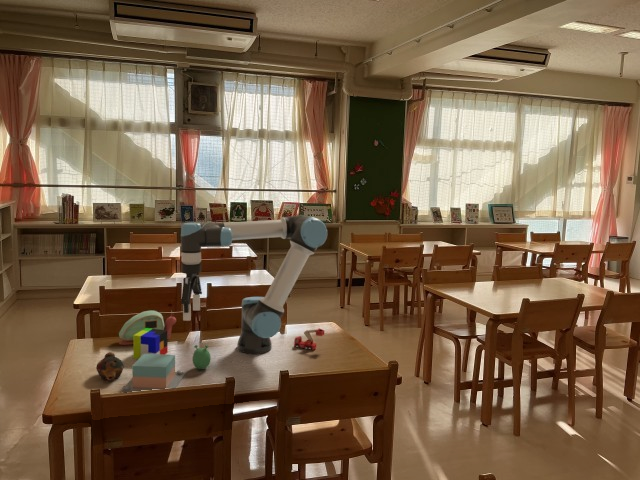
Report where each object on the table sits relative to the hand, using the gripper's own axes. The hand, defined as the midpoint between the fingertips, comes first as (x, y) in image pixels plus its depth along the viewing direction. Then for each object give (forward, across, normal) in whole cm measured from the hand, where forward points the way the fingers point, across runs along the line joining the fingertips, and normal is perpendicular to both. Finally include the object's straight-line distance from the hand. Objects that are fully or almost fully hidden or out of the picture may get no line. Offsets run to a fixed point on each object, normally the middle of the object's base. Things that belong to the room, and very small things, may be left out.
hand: (191, 315), depth 210 cm
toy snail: (+21, -27, -28) cm, 44 cm away
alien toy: (+22, +2, +4) cm, 22 cm away
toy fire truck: (+22, -27, +45) cm, 57 cm away
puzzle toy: (+21, -10, -20) cm, 31 cm away
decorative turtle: (+21, +14, -27) cm, 37 cm away
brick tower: (+21, +17, -9) cm, 29 cm away
